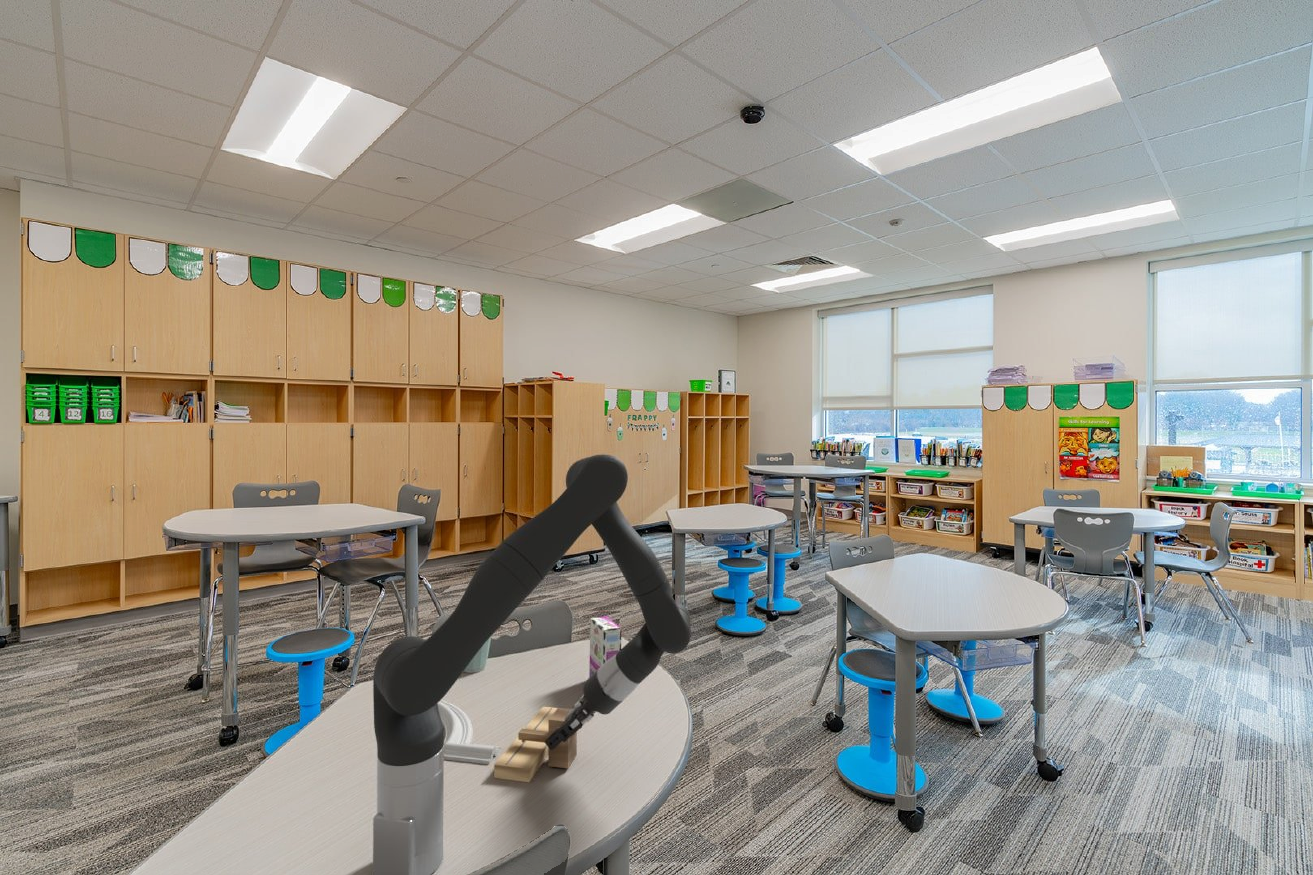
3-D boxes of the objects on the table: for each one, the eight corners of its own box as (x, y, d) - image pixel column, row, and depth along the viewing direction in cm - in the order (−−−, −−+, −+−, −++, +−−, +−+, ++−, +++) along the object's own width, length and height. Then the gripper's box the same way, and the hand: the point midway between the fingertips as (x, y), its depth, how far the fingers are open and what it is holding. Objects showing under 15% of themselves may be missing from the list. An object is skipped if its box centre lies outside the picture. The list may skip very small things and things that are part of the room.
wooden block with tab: (568, 768, 113) (568, 721, 113) (514, 761, 115) (514, 715, 115) (576, 754, 118) (576, 709, 118) (525, 748, 120) (525, 704, 120)
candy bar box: (621, 693, 147) (622, 627, 147) (602, 696, 145) (603, 630, 145) (606, 676, 157) (607, 615, 157) (588, 679, 155) (589, 617, 155)
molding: (508, 761, 118) (508, 747, 118) (446, 781, 111) (446, 765, 111) (447, 685, 152) (447, 674, 152) (397, 696, 145) (397, 684, 145)
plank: (529, 782, 109) (529, 768, 109) (494, 777, 111) (494, 763, 111) (572, 720, 133) (572, 709, 133) (543, 717, 134) (543, 706, 134)
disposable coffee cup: (481, 658, 169) (481, 605, 169) (501, 668, 162) (502, 614, 162) (446, 668, 161) (446, 613, 161) (466, 680, 154) (466, 622, 154)
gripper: (609, 654, 121) (554, 706, 124) (587, 683, 107) (525, 741, 110) (634, 682, 120) (578, 734, 123) (615, 715, 106) (552, 773, 109)
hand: (553, 737), depth 116 cm, fingers closed on wooden block with tab, 5 cm apart
